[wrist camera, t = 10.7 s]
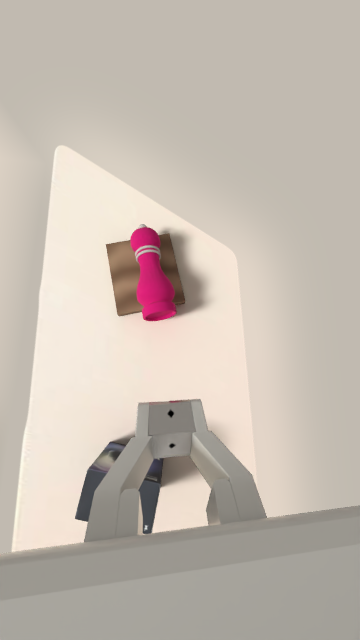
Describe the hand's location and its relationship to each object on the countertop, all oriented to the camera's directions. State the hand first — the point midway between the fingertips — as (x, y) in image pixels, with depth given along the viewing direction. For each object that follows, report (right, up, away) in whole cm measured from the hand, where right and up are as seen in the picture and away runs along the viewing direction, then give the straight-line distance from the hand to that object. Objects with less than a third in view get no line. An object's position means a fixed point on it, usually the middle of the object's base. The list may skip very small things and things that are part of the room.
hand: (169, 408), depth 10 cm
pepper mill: (-3, +5, +28) cm, 29 cm away
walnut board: (-7, +14, +35) cm, 39 cm away
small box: (-8, -22, +28) cm, 37 cm away
